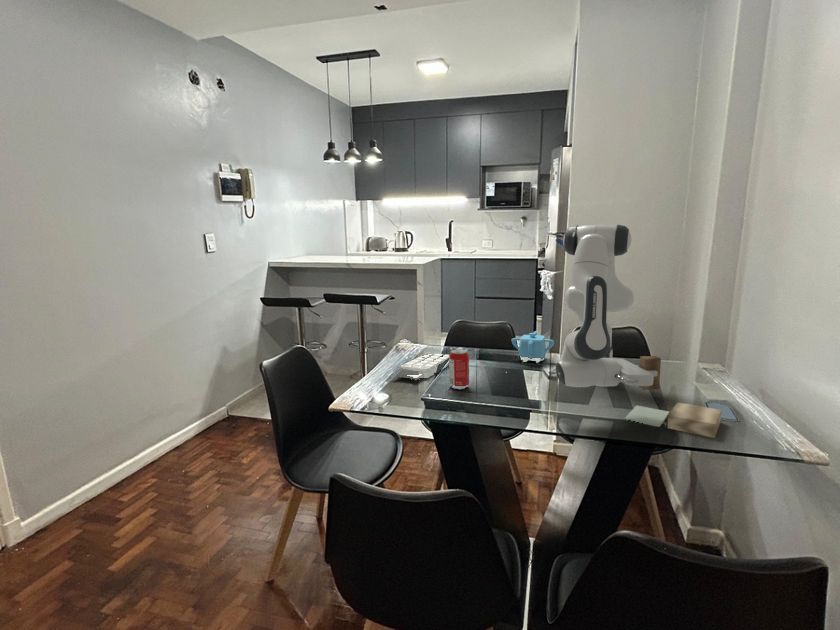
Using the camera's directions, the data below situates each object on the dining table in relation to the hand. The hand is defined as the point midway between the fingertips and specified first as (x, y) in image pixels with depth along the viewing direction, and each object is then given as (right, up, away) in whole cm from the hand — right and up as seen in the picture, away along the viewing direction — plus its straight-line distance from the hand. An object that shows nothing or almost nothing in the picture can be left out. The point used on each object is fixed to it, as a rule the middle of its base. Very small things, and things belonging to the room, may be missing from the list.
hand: (652, 371), depth 143 cm
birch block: (+10, -16, -5) cm, 19 cm away
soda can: (-58, -11, +36) cm, 69 cm away
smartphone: (+25, -15, +4) cm, 29 cm away
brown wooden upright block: (-1, -5, +1) cm, 6 cm away
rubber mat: (0, -15, +2) cm, 15 cm away
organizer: (-72, -9, +61) cm, 94 cm away
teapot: (-19, -4, +78) cm, 80 cm away
